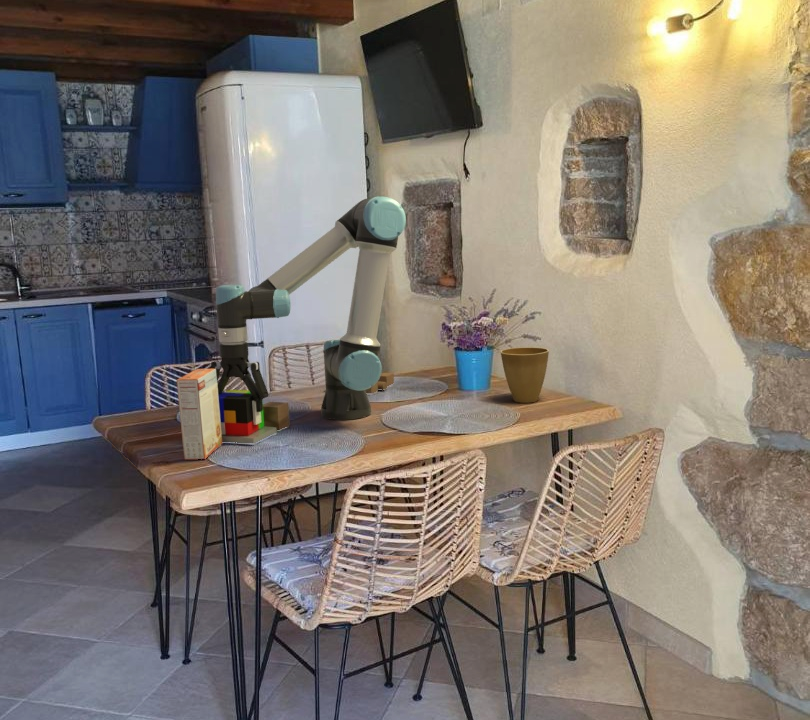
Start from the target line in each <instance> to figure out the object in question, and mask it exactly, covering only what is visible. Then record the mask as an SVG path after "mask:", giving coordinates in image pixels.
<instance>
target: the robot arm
mask: <svg viewBox="0 0 810 720" xmlns="http://www.w3.org/2000/svg"><path fill="white" fill-rule="evenodd" d="M406 220H407V218H406V212H405V210H404V208H403V207H402V204H400V202H398V201H397V200H395V199H394V198H391V197H389V196H388V197H387V196H381V195H380V196H379V195H378V196H375V197H367V198H365V199H362V200H360V201H358V202H357V203H355V205H353V207H351V208H350V209H349V210H348V211H346V212H345V214H344V215H342V216H341V217H340V218H338V219H337V220H335V224H334V227H333V228H331V229H330V230H329V231H327V232H326V233H325V234H324V235H322V236H321V237H320V238H318V239H317V240H315V241H314V242H312V244H310V245H309V246H308V247H306V248H305V249H303V251H302V252H300V253H299V254H297V255H296V256H295V257H293V258H292V259H291V260H289V261H288V262H287V263H286V264H284V265H283V266H281V267H280V268H279V269H277V270H276V271H275V272H274V273H272V274H271V275H269V277H267V278H266V279H265V280H263V281H262V282H260V283H259V284H258V285H255V286H253V287H251V288H250V289H249V290H248V291H246V290H245V287H244V285H242V284H222V285H219V286H217V287H216V289H215V307H216V317H217V318H216V319H217V329H218V330H217V331H218V342H219V343H220V344H219V357H220V358H221V359H220V360H215V361H211V363H210V367H211V368H210V369H216V375H217V386H218V395H219V394H221V393H223V391H224V390H225V388H226V386H227V385H228V382H229V380H230V378H234V377H235V378H239V379H240V380H241V381H242V382H243V384H244V385H245V386H246V388H247V389H248V391H250V393H251V394H252V396H253V398H254V399H255V400H253V401H252V408H253V422H254V425H257V424H259V423H261V411H262V410H263V404H264V402H263V403H262V400H263V399H265V398H268V397H269V395H270V394H269V392H268V390H267V389H268V388H267V386H266V384H265V380H264V378H263V376H262V373H261V370H260V369H261V367H260V362H259V361H255V362H250V361H249V343H248V342H247V341H248V327H247V320H257V319H274V318H275V319H276V318H277V319H280V318H283V317H285V318H286V317H289V315H290V313H291V308H292V307H291V297H290V295H291V294H293V292H295V291H296V290H297V289H299V288H300V287H301V286H303V285H304V284H305V283H307V282H308V281H309V280H310V279H312V278H313V277H314V276H316V275H317V274H318V273H320V272H321V271H322V270H323V269H325V268H326V267H327V266H329V265H330V264H332V262H334V261H336V259H338V258H340V257H341V256H342V255H343V254H344V253H346V252H347V251H348V250H350V249H357V248H358V249H359V252H358V258H357V262H356V263H357V265H356V272H355V277H354V282H353V289H352V290H353V291H352V297H351V302H350V308H349V316H348V321H347V327H346V333H345V334H344V335H343V336H342V337H340V339H330V340H325V342H324V343H323V351H322V353H323V364H324V365H323V366H324V380H325V381H324V382H325V391H324V396H323V400H322V404H321V407H320V408H321V409H320V415H321V417H322V418H324V419H327V420H335V421H337V420H338V421H340V420H341V421H343V420H346V421H347V420H356V419H363V418H365V417H368V416H370V415H371V414H372V405H371V403H370V400H369V397H368V395H367V394H366V391H365V390H366V389H369V388H371V387H372V386H374V385H375V384H376V383H377V381H378V380H379V378H380V376H381V373H383V371H382V368H383V367H382V363H381V360H380V358H379V357H380V351H381V345H382V344H381V343H380V342H379V340H378V338H377V336H378V330H379V324H380V319H381V318H380V317H381V313H382V312H381V310H382V307H383V300H384V299H383V298H384V293H385V286H386V282H387V275H388V269H389V264H390V263H389V262H390V256H391V254H392V253H393V252H395V251H396V250H397V248H398V247H397V246H398V240H399V236H400V235H401V234H402V233H403V231H404V229H405V227H406V222H407V221H406ZM221 368H222V370H223V371H222V373H221ZM249 370H250V372H251V373H250V372H249ZM220 373H221V376H220ZM219 377H220V378H219ZM263 401H264V400H263Z"/></svg>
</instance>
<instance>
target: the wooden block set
mask: <svg viewBox="0 0 810 720" xmlns="http://www.w3.org/2000/svg"><path fill="white" fill-rule="evenodd" d="M394 375H395V374H394V373H393V372H392V373H391V372H381V376H380V378H379V380H378V381H377V383H376V384H375V385H374V386H372V387H371V388H369V389H366V390H365V391H366V393H374V392H376V391H378V389H382V390H383V389H386V388H387V386H389V385H391V384H393V383H394V384H395V378H394ZM386 390H387V389H386ZM378 392H379V391H378Z"/></svg>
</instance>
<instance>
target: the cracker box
mask: <svg viewBox="0 0 810 720" xmlns="http://www.w3.org/2000/svg"><path fill="white" fill-rule="evenodd" d="M217 385H218V382H217V375H216V369H211V368H195V369H194V370H192V371H190V372H188V373H187V374H185V375H183V376H181V377H180V378H177V379H176V387H177V398H178V399H177V400H178V406H179V408H178V409H179V418H180V419H179V420H180V427H181V438H182V447H183V459H184V461H195V460H196V461H197V460H198V459H201V460H202V459H205V460H207V459H208V458H209V457H208V455H210V454H211V453H212V452H213V451H214V450H215V449H216V448H218V447H219V446H220V445H221V444H222V445H223V443H222V432H221V420H220V409H219V398H218V386H217ZM222 445H221V446H222ZM221 446H220V447H221ZM220 447H219V448H220ZM219 448H218V449H219ZM215 451H216V450H215ZM215 451H214V452H215ZM214 452H213V453H214ZM213 453H212V454H213ZM212 454H211V455H212ZM211 455H210V456H211ZM207 457H208V458H207ZM206 458H207V459H206ZM198 461H199V460H198ZM202 461H203V460H202Z"/></svg>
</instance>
